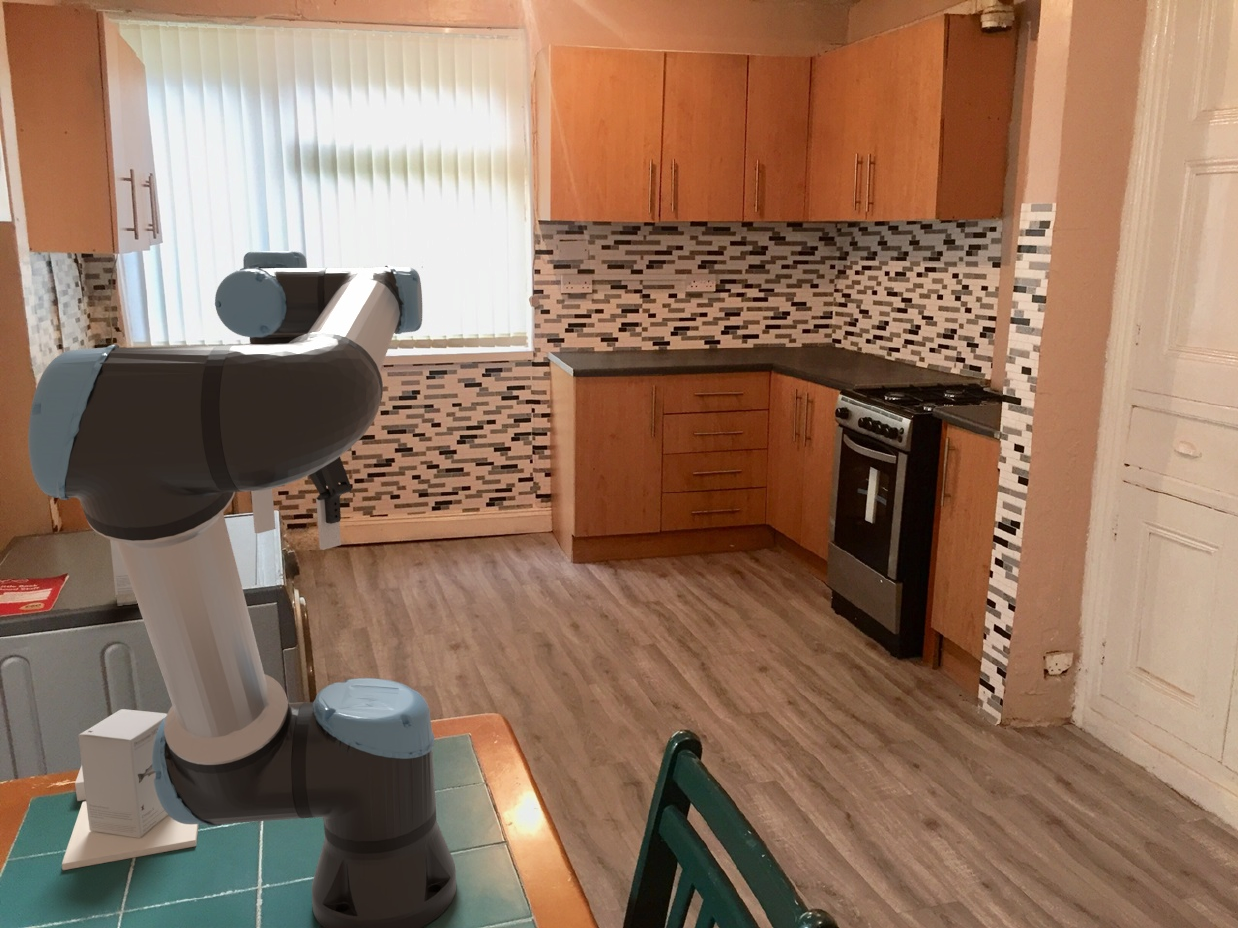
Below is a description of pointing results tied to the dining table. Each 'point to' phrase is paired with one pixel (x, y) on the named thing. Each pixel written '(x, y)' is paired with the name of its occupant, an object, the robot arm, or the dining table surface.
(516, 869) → the dining table surface
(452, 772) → the dining table surface
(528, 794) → the dining table surface
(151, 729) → the supplement box
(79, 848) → the cream coaster
